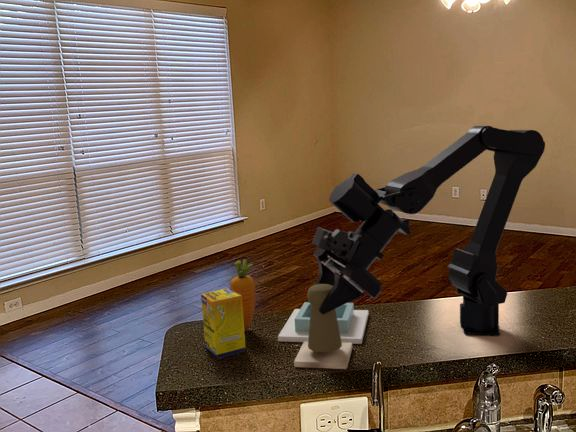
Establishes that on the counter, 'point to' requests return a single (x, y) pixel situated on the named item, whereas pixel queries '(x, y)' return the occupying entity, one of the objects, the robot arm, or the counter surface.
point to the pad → (323, 357)
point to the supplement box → (223, 322)
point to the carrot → (245, 291)
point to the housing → (347, 317)
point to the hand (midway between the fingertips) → (315, 308)
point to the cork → (322, 322)
